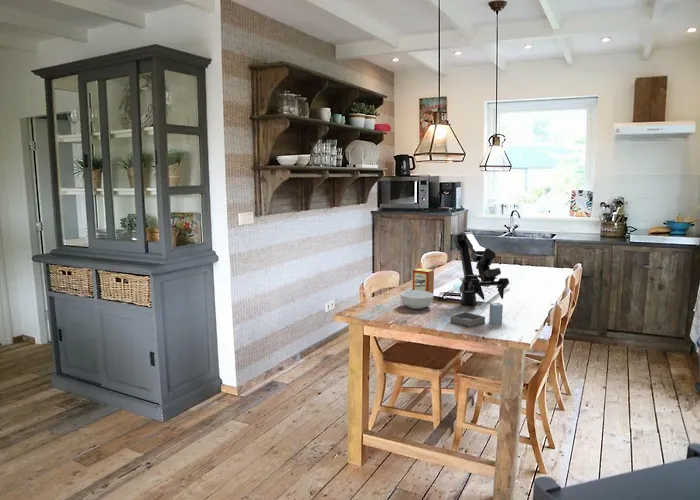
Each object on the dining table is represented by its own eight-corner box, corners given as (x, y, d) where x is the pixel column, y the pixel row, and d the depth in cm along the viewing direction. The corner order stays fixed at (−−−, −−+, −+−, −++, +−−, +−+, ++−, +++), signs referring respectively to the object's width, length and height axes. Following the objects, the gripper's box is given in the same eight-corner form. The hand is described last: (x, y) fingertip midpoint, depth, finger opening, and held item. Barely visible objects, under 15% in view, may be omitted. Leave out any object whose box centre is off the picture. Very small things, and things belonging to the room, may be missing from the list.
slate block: (489, 321, 247) (489, 303, 246) (498, 321, 248) (499, 302, 247) (492, 324, 243) (493, 305, 242) (501, 324, 244) (502, 305, 243)
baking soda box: (412, 297, 293) (412, 269, 290) (418, 295, 298) (418, 267, 295) (427, 300, 287) (428, 271, 285) (433, 297, 292) (433, 269, 290)
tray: (450, 322, 247) (450, 315, 246) (465, 317, 254) (465, 311, 254) (470, 327, 238) (470, 321, 238) (484, 322, 246) (485, 316, 245)
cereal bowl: (405, 312, 264) (406, 298, 262) (396, 303, 280) (396, 290, 279) (438, 310, 267) (438, 296, 266) (426, 302, 283) (427, 289, 282)
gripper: (471, 262, 249) (479, 290, 240) (508, 261, 252) (518, 289, 243) (464, 275, 258) (472, 303, 249) (500, 274, 261) (509, 301, 251)
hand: (493, 299), depth 248 cm, fingers open, 9 cm apart
